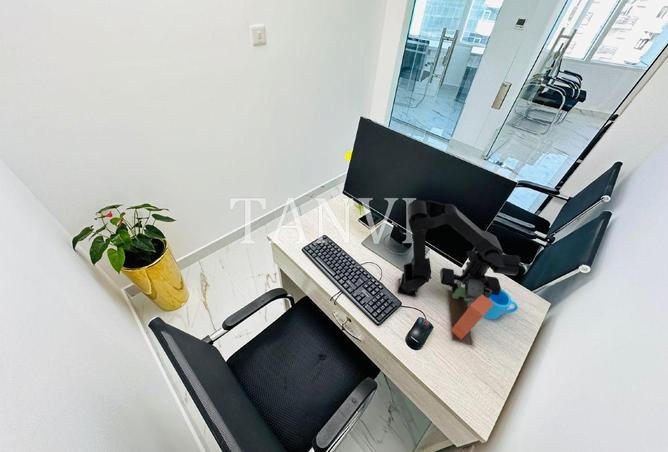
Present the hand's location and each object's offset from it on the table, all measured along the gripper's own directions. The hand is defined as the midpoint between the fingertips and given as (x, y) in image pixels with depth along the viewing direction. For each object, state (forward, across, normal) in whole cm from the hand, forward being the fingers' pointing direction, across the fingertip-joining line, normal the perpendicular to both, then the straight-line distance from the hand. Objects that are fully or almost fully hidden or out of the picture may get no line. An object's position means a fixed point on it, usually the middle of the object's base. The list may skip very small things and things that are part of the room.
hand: (461, 294), depth 94 cm
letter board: (+2, -1, -8) cm, 8 cm away
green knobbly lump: (+1, 0, 0) cm, 1 cm away
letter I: (+1, -1, -14) cm, 14 cm away
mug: (+3, +12, -2) cm, 12 cm away
